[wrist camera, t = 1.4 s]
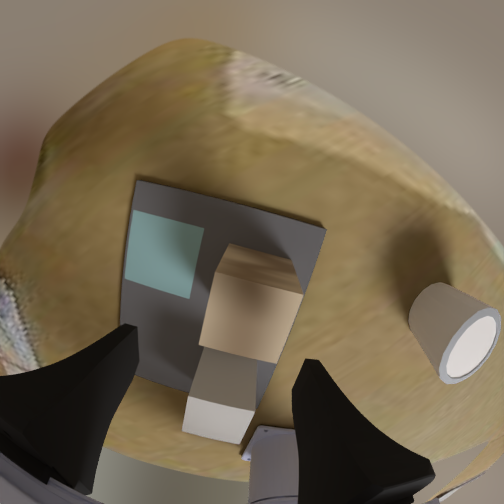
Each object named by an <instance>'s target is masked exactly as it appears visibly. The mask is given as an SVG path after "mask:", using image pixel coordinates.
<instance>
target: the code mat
mask: <svg viewBox="0 0 504 504" xmlns="http://www.w3.org/2000/svg"><path fill="white" fill-rule="evenodd" d="M325 234H326V229H325V228H322V227H319V226H316V225H313V224H309V223H306V222H302V221H299V220H296V219H292V218H289V217H285V216H282V215H278V214H275V213H271V212H268V211H264V210H260V209H257V208H253V207H249V206H246V205H242V204H238V203H234V202H230V201H227V200H223V199H219V198H215V197H211V196H207V195H203V194H199V193H195V192H191V191H186V190H182V189H178V188H174V187H169V186H165V185H161V184H156V183H152V182H147V181H143V180H137V182H136V187H135V192H134V197H133V203H132V209H131V215H130V221H129V227H128V234H127V242H126V250H125V258H124V268H123V279H122V292H121V310H120V326H121V325H123V324H124V323H126V324H130V325H133V326H137V327H138V345H139V359H140V361H139V364H138V367H137V369H136V372H135V375H137V376H139V377H142V378H145V379H148V380H150V381H153V382H156V383H159V384H162V385H165V386H168V387H171V388H174V389H178V390H181V391H184V392H187V393H189V392H190V389H191V386H192V383H193V380H194V377H195V374H196V370H197V367H198V364H199V361H200V358H201V355H202V352H203V349H204V346H201V345H199V341H200V336H201V331H202V327H203V322H204V318H205V313H206V309H207V304H208V300H209V296H210V291H211V287H212V283H213V279H214V274H215V271H216V269H217V267H218V265H219V263H220V261H221V259H222V257H223V255H224V253H225V251H226V249H227V247H228V245H229V243H231V244H234V245H238V246H242V247H245V248H249V249H253V250H257V251H260V252H264V253H268V254H271V255H275V256H279V257H282V258H286V259H290V260H292V263H293V265H294V268H295V271H296V274H297V277H298V280H299V283H300V285H301V288H302V291H303V294H304V295H305V292H306V289H307V286H308V284H309V281H310V278H311V275H312V272H313V269H314V267H315V264H316V261H317V258H318V255H319V252H320V249H321V246H322V243H323V240H324V237H325ZM304 295H303V297H304ZM302 300H303V298H302ZM301 303H302V301H301ZM300 305H301V304H300ZM299 308H300V306H299ZM298 311H299V309H298ZM297 313H298V312H297ZM296 316H297V314H296ZM295 318H296V317H295ZM294 321H295V319H294ZM293 324H294V322H293ZM292 326H293V325H292ZM291 329H292V327H291ZM290 331H291V330H290ZM289 334H290V332H289ZM288 336H289V335H288ZM287 339H288V337H287ZM286 341H287V340H286ZM285 344H286V342H285ZM284 346H285V345H284ZM283 349H284V347H283ZM282 351H283V350H282ZM281 353H282V352H281ZM280 356H281V354H280ZM279 358H280V357H279ZM278 361H279V359H278ZM277 363H278V362H277ZM276 365H277V364H276V363H271V362H266V361H261V360H257V379H256V406H255V409H257V408H258V406H259V404H260V402H261V399H262V397H263V395H264V393H265V391H266V388H267V386H268V384H269V382H270V379H271V377H272V375H273V372H274V370H275V368H276Z"/></svg>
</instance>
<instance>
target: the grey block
mask: <svg viewBox="0 0 504 504" xmlns="http://www.w3.org/2000/svg"><path fill="white" fill-rule="evenodd" d="M256 379H257V359H252V358H248V357H244V356H239V355H235V354H231V353H227V352H223V351H220V350H216V349H212V348H208V347H205V346H204V349H203V352H202V355H201V358H200V361H199V364H198V367H197V370H196V374H195V377H194V380H193V383H192V386H191V389H190V392H189V395H188V400H187V405H186V410H185V416H184V421H183V427H182V431H184V432H187V433H191V434H195V435H199V436H203V437H207V438H211V439H215V440H220V441H224V442H229V443H235V444H240V442H241V440H242V438H243V436H244V434H245V432H246V430H247V428H248V426H249V424H250V422H251V420H252V418H253V415H254V413H255V406H256Z"/></svg>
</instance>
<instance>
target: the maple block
mask: <svg viewBox="0 0 504 504" xmlns="http://www.w3.org/2000/svg"><path fill="white" fill-rule="evenodd" d="M303 295H304V294H303V291H302V288H301V285H300V283H299V280H298V277H297V274H296V271H295V268H294V265H293V263H292V260H290V259H286V258H282V257H279V256H275V255H271V254H268V253H264V252H260V251H257V250H253V249H249V248H245V247H242V246H238V245H234V244H231V243H229V245H228V247H227V249H226V251H225V253H224V255H223V257H222V259H221V261H220V263H219V265H218V267H217V269H216V271H215V274H214V279H213V283H212V287H211V291H210V296H209V300H208V304H207V309H206V313H205V318H204V322H203V327H202V331H201V336H200V341H199V345H201V346H205V347H208V348H212V349H216V350H220V351H223V352H227V353H231V354H235V355H239V356H244V357H248V358H252V359H257V360H261V361H266V362H271V363H276V364H277V362H278V359H279V357H280V354H281V352H282V350H283V347H284V345H285V342H286V340H287V337H288V335H289V332H290V330H291V327H292V325H293V322H294V319H295V317H296V314H297V312H298V309H299V306H300V304H301V301H302V298H303Z"/></svg>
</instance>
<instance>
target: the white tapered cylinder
mask: <svg viewBox="0 0 504 504" xmlns="http://www.w3.org/2000/svg"><path fill="white" fill-rule="evenodd" d="M408 323H409V326H410V330H411V331H412V333H413V335H414V336H415V338H416V339H417V341H418V342H419V344H420V346H421V347H422V349H423V351H424V352H425V354H426V355H427V357H428V359H429V360H430V362H431V364H432V365H433V367H434V369H435V371H436V372H437V374H438V376H439V378H440V379H441V380H442V381H443V382H445V383H446V384H456V383H458V382H460V381H463V380H465V379H467V378H468V377H469V376H471V375H472V374H473V373H474V372H476V371H477V370H478V369H479V368H480V367H481V366H482V364H483V363H484V362H485V361H486V360H487V358H488V357H489V356H490V354H491V352H492V350H493V349H494V347H495V345H496V343H497V340H498V337H499V334H500V330H501V316H500V314H499V312H498V310H497V309H495V308H493V307H491V306H489V305H488V304H486V303H484V302H482V301H480V300H478V299H476V298H474V297H472V296H470V295H468V294H466V293H464V292H462V291H460V290H458V289H456V288H454V287H452V286H450V285H448V284H445V283H442V282H439V283H434V284H431V285H430V286H428V287H427V288H425V289H424V290H422V292H421V293H420V294H419V295H418V296H417V298H416V299H415V300H414V303H413V305H412V307H411V309H410V312H409V320H408Z"/></svg>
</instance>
